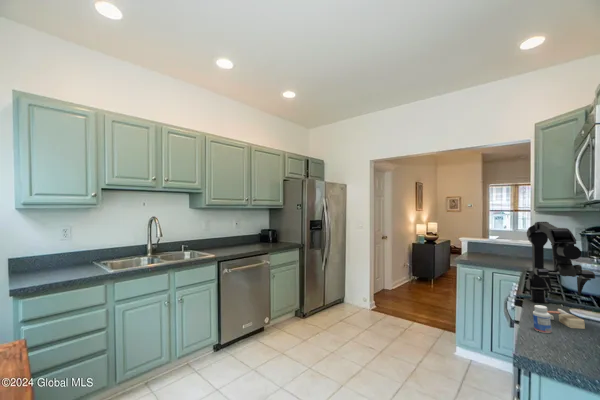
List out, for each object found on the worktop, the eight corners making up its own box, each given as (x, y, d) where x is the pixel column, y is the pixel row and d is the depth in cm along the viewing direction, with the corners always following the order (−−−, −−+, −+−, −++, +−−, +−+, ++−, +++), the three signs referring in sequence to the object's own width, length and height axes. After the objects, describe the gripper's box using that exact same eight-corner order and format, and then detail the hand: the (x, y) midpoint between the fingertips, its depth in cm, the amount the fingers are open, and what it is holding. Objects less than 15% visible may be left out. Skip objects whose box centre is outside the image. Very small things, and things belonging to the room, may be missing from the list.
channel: (537, 310, 136) (537, 307, 136) (560, 312, 134) (559, 308, 134) (551, 319, 125) (550, 316, 125) (576, 321, 122) (575, 317, 122)
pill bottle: (534, 327, 117) (532, 303, 118) (551, 330, 114) (549, 305, 115) (534, 331, 113) (532, 307, 114) (552, 334, 110) (549, 309, 110)
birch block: (559, 322, 122) (558, 314, 123) (572, 322, 121) (572, 314, 121) (570, 328, 116) (569, 319, 116) (585, 329, 114) (584, 320, 115)
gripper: (538, 257, 120) (542, 294, 119) (598, 259, 111) (603, 300, 110) (532, 255, 130) (535, 289, 129) (587, 256, 121) (591, 293, 119)
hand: (565, 293), depth 121 cm, fingers open, 9 cm apart
